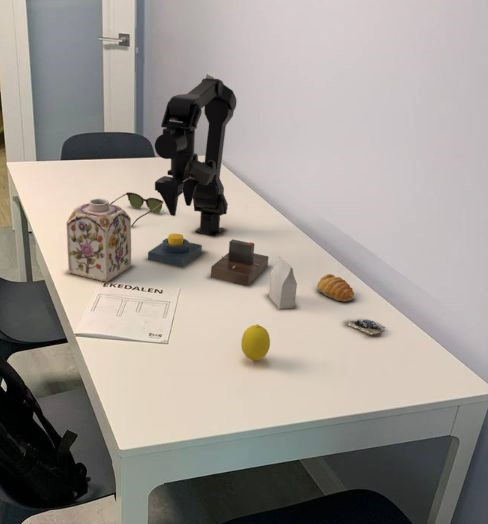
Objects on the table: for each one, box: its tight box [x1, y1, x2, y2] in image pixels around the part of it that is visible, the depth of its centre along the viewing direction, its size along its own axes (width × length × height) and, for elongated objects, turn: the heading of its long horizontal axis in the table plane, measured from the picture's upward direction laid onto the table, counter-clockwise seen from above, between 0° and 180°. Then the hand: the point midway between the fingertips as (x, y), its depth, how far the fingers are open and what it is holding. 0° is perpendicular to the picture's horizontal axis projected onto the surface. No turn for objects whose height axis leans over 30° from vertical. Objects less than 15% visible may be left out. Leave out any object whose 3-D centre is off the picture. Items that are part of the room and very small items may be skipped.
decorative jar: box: [66, 198, 132, 283], centre depth 165 cm, size 12×12×18 cm
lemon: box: [240, 324, 271, 362], centre depth 131 cm, size 6×6×8 cm
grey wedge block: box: [268, 256, 298, 310], centre depth 155 cm, size 4×7×10 cm, turn 16°
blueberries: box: [347, 319, 387, 335], centre depth 146 cm, size 7×8×2 cm
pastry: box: [316, 273, 355, 302], centre depth 161 cm, size 9×7×4 cm
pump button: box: [167, 233, 184, 245], centre depth 177 cm, size 4×4×2 cm
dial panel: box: [210, 252, 269, 287], centre depth 170 cm, size 14×10×3 cm
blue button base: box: [147, 237, 203, 268], centre depth 178 cm, size 12×10×4 cm
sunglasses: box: [109, 191, 164, 228], centre depth 205 cm, size 14×15×5 cm
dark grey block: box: [228, 238, 255, 265], centre depth 169 cm, size 6×2×5 cm, turn 65°
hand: (180, 210), depth 173 cm, fingers open, 9 cm apart
